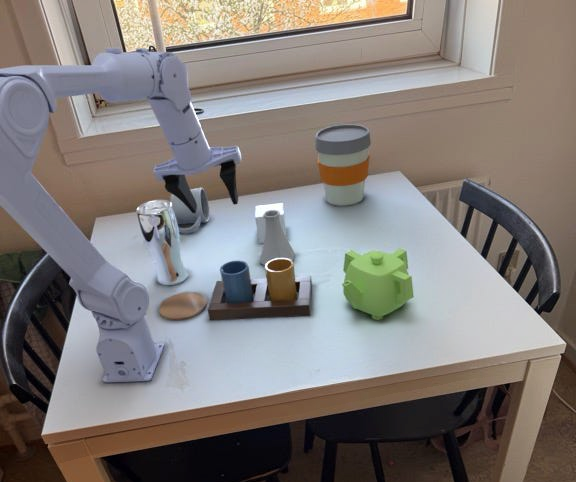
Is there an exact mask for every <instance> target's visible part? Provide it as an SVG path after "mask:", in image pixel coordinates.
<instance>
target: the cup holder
mask: <svg viewBox="0 0 576 482" xmlns="http://www.w3.org/2000/svg"><path fill="white" fill-rule="evenodd" d="M295 280H296V290H297V293H298V296H297V300H279V301H270V300H269V293H268V286H267V279H266V277H265V278H264V277H263V278H251V284H252V290H253V296H254V301H253V302H240V303H227V302H226V298H225V293H224V288H223V283H222V280H216V282H215V285H214V288H213V290H212V291H213V292H212V295H211V297H210V301H209V304H208V308H207V314H208V319H209V321H220V320H221V321H222V320H223V321H224V320H241V319H243V320H244V319H245V320H246V319H262V318H263V319H264V318H282V317H285V318H286V317H305V316H306V317H307V316H311V307H312V306H311V305H312V291H313V290H312V289H313V282H312V275H299V276H296V275H295Z"/></svg>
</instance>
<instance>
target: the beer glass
mask: <svg viewBox="0 0 576 482" xmlns="http://www.w3.org/2000/svg"><path fill="white" fill-rule="evenodd" d="M135 211H136V215H137V218H138V224H139V229H140V232H141V233H140V234H141V235H142V238H143V241H144V243H145V245H146V247H147V249H148V252H149V253H150V255H151V258H152V260H153V261H154V265H155V267H156V268H155V269H156V277H157V282H158V283H159V284H160V285H163V286H175V285H178V284H181V283H183V282H184V281H186V279H187V278H188V276H189V274H188V271H187V268H186V267H185V264H184V262H183V258H182V250H181V237H180V236H181V235H180V232H179V229H178V227H179V224H177V220H176V217H175V214H174V211H173V208H172V205H171V202H170V201H169V200H167V199H153V200H148V201H145V202H143V203H141V204H139V205H138V206H137V208H136V210H135Z"/></svg>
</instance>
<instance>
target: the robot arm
mask: <svg viewBox="0 0 576 482" xmlns="http://www.w3.org/2000/svg"><path fill="white" fill-rule="evenodd" d="M92 94H98V95H99V97H100V98H101V99H103V100H104V101H105V102H107V103H110V104H114V103H123V102H124V103H125V102H134V101H143V100H147V101H148V104H149V106H150V107H151V110H152V112H153V114H154V116H155V118H156V120H157V123H158V124H159V126H160V129H161V132H162V133H163V135H164V137H165V139H166V141H167V144H168V146H169V148H170V150H171V152H172V154H173V158H170V159H168V160H166V161H164V162H162V163H159V164H155V165H154V168H153V172H152V173H153V174H154V176H155V179H156V180H157V182H159V183H160V182H164V183H165V184H164V188H165V190H166V192H168V193H169V194H170V195H171V194H173V195H175V196H176V197H177V198H179V199H180V200H181V201H182V202H183V203H184V204H185V205H186V206H187V207H188V208H189V210H190V211H191V212H192V213H196V210H197V203H196V201H195V198H194V196H193V194H192V192H191V188H190V187H189V183H188V180H187V177H186V176H191V175H196V174H197V175H198V174H199V173H202V172H204V171H206V170H209V169H211V168H214V167H215V168H216V167H219V166H220V169H219V178H220V180H221V181H222V182H223V184H224V185H225V187H226V190H227V191H228V195H229V197H230V200H231V202H232V204H233V205H234V206H235V205H237V204H238V203H239V195H238V190H237V164H241V163H242V153H241V151H240V148H239V145H233V146H213V147H210V146H209V143H208V141H207V137H206V136H205V133H204V131H203V128H202V126H201V123H200V120H199V118H198V116H197V114H196V111H195V108H194V106H193V103H192V94H191V91H190V89H189V72H188V67H187V64H186V63H183V62H182V61H181V59H180V58H179V57H178V56H177V55H175V54H174V53H173V52H171V51H148V49H147V48H145V47H144V48H143V47H141V48H140V47H138V48H136V49H135V51H129V52H128V51H126V52H125V51H124V52H122V49H121V47H118V46H117V47H114V46H113V47H112V46H111V47H110V46H109V47H107V46H106V47H105V52H100V53H98V54H97V55H96V56H95V58H94V59H93V61H92V63H91V64H87V65H86V64H84V65H83V64H80V65H79V64H78V65H75V64H74V65H72V64H69V65H68V64H66V65H63V64H60V65H59V64H52V65H51V64H50V65H49V64H48V65H47V64H45V65H42V64H37V65H36V64H35V65H33V64H32V65H31V64H30V65H29V64H24V65H17V66H10V67H3V68H0V206H1V208H3V209H4V211H6V213H7V214H8V215H9V216H10V217H11V218H12V219H13V220H14V221H15V222H16V223H17V224H18V225H19V226H20V227H21V228H22V229H23V230H24V231H25V232H26V233H27V234H28V235H29V236H30V237H31V238H32V240H34V242H36V244H37V245H38V246H39V247H41V249H42V250H44V252H46V254H47V255H49V257H50V258H51V259H52V260H53V261H54V262H55V263H56V264H57V265H58V266H59V267H60V268H61V269H62V270H63V271H64V272H65V273H66V274H67V275H68V276H69V277H70V280H69V283H68V285H69V286H70V287H71V288H72V290H73V291H74V292H75V294H76V297H77V301H78V303H79V304H80V306H81V307H82V308H84V309H85V310H88V311H89V312H90V311H91V315H92V317H93V318H94V320H95V322H96V324H97V327H98V333H99V336H98V340H97V341H98V342H97V344H96V346H95V347H96V349H95V351H96V355H97V357H98V359H99V362H100V364H101V367H102V369H103V372H104V374H103V375H104V376H103V378H102V382H103V383H123V382H124V383H128V382H149V381H151V380H152V379H153V376H154V374H155V371H156V368H157V366H158V364H159V361H160V358H161V356H162V353H163V350H164V348H165V344H164V343H163V342H156V343H154V339H153V336H152V334H151V331H150V328H149V327H150V326H149V325H148V321H147V318H146V315H147V310H148V308H149V303H150V298H149V297H150V296H149V292H148V289H147V288H146V286H145V285H144V284H142V283H141V282H139V281H136V280H133V279H132V278H130V276H129V275H128V274H127V273H126V272H124V271H122V270H121V269H120V268H118V267H116V265H114V264H112V263H110V262H109V261H107V259H105V258H104V256H103V255H102V254H101V253H100V252H99V250H98V249H97V248H96V247H95V246H94V245H93V243H91V241H90V240H89V239H88V237H86V235H85V234H84V233H83V232H82V230H81V229H80V228H79V227H78V226H77V224H76V223H74V221H73V220H72V219H71V218H70V217H69V215H67V213H66V212H65V211H64V210H63V209H62V207H61V206H60V205H59V204H58V203H57V201H55V199H54V198H53V197H52V196H51V194H50V193H49V192H48V191H47V190H46V189H45V188H44V186H43V185H42V184H41V182H40V181H38V179H37V178H36V177H35V176H34V174H33V167H34V166H35V163H36V159H37V157H38V154H39V152H40V148H41V146H42V143H43V140H44V137H45V134H46V132H47V128H48V125H49V120H50V114H56V113H57V109H58V108H57V104H58V99H63V98H71V97H79V96H83V95H84V96H85V95H86V96H87V95H92Z"/></svg>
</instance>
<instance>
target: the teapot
mask: <svg viewBox="0 0 576 482" xmlns="http://www.w3.org/2000/svg"><path fill="white" fill-rule="evenodd" d="M342 269H343V270H342V271H343V272H344V273H345V276H344V280H343V282H342V283H341V285H342V288H343V289H342V290H343V291H342V292H343V296H344V298H345V299H346V301H347V302H348V303H349V304H350V305H351V308H352V309H353V310H359V311H361V312H364V313H365V314H369V315H371V318H372V319H373V320H375V321H377V320H378V321H379V320H382V319H383V318H384V316H386V315H389V314H390V313H392V312H395V311H396V310H398V309H399V308H401V307H403V305H404V304H406V303H407V302H408V301H410V300H411V299H413V298H414V296H415V295H414V286H413V277H412V276H413V275H410V274H409V271H408V270H409V260H408V251H407V250H405V249H403V248H398V249H396V250H394V251H393V252H392V253H388V252H384V251H381V250H376V249H375V250H370V251H367V252H365V253H363V254H361V253H358V252H357V251H354V250H352V249H350V250H348V251H347V252H345V253H344V260H343V268H342Z"/></svg>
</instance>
